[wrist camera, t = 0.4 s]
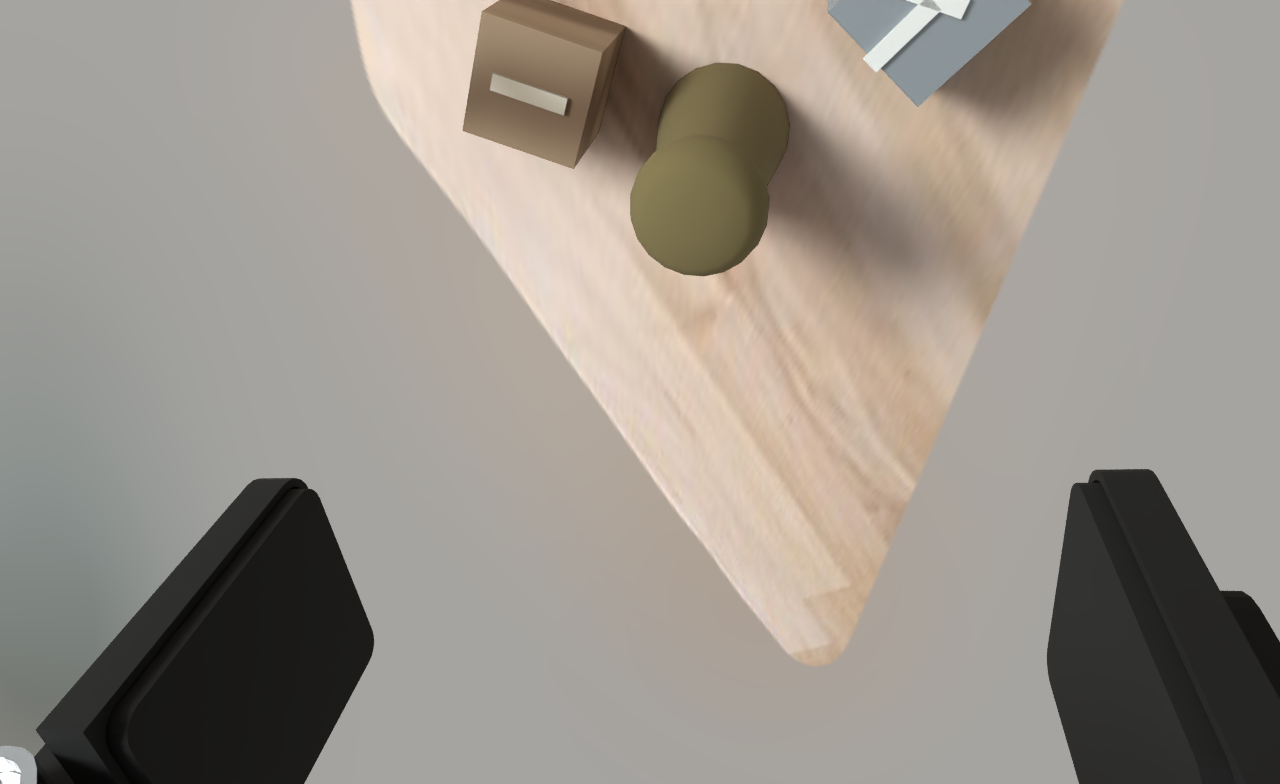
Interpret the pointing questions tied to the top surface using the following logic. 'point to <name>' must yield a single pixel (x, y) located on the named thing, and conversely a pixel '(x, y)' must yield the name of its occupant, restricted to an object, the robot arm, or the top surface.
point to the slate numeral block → (923, 36)
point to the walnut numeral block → (541, 78)
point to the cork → (710, 170)
